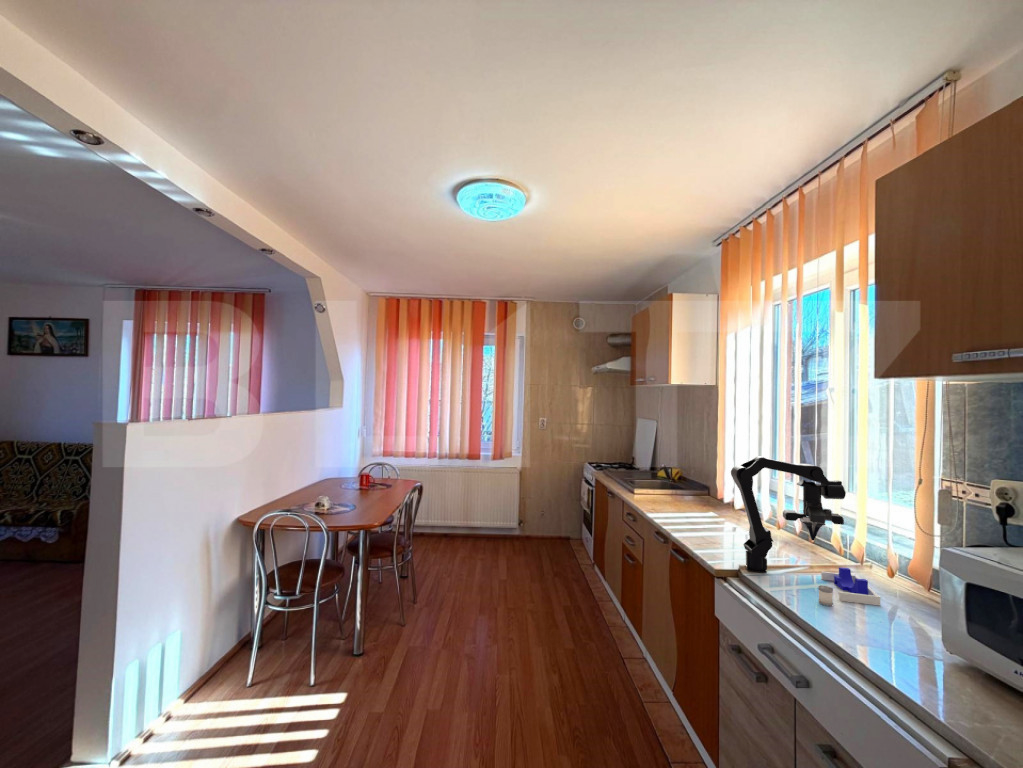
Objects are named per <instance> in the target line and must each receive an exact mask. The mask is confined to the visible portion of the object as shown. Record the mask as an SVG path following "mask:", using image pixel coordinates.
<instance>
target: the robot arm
mask: <svg viewBox="0 0 1023 768" xmlns="http://www.w3.org/2000/svg"><path fill="white" fill-rule="evenodd" d="M763 469H768V470H769V469H770V470H773V471H774V470H775V471H779V472H783V473H788V474H794V475H796V476H798V477H801V478H802V479H800V481H798V482H797V483H796V485H797V486H798V487H799V486H800V487H802V495H803V496H802V497H803V498H802V502H803V504H802V505H803V506H802V507H803V510H802V513H801V512H799V513H798V512H797V511H795V510H790V509H784V510H783V511H782V517H783V518H784V520H785V521H791V522H794V521H795V522H796V521H797V520H798V519H799V521H800V522H801V523H802V524H803V525H804V526H805V527H806V531H807V532H808V534H809V538H810V540H811V541H815V540H816V537H817V534H818V533H819V530H820V528H821V527H823V526H826V521H827V522H831V523H833V524H834V525H843V526H844V525H845V519H844V518H843V516H842V515H841V514H838V513H832V510H831V509H829V508H823V503H822V497H823V498H824V499H825V500H844V499H845V498H846V494H847V492H846V490H845V487H844V485H843V481H842V480H828V478H827V476H825V474H824V471H823V469H822V467H820V466H818V465H814V464H810V463H792V462H786V461H781V460H776V459H773V458H772V459H771V458H766V457H763V456H759V455H758V456H755V457H753V458H752V459H750V460H748V461H746V462H743V463H741V464H740V465H738V464H737V465H735V466H733V467H732V468H731V469H730V470H731V471H730V475H731V477H732V480H733V481H734V483H735V485H736V487H737V489H738V490H739V492H740V496H741V499H742V503H743V507H744V510H745V512H746V516H747V517H746V518H747V520H748V525H749V529H748V530H749V531H748V536H749V538H748V539H747V540H746V541H745V542H744V543H743V547H744V549H745V564H746V565H747V568H746V567H745V569H746V571H747V572H755V573H764V574H765V573H766V574H767V570H768V559H767V555H768V553H769V551H770V550H771V549H772V548H773V542H774V540H773V538H772V533H771V530H770V529H768V528H766V527H765V526H764V525H763V522H762V519H761V515H760V511H759V508H758V506H757V501H756V499H755V497H756V496H755V495H754V494H755V493H754V491H753V487H754V478H753V477H755V476H756V475H758V474H759V473H760V472H761V471H762V470H763ZM803 478H804V479H803ZM805 479H806V480H810V481H806V480H805Z"/></svg>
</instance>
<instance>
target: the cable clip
mask: <svg viewBox="0 0 1023 768" xmlns="http://www.w3.org/2000/svg"><path fill="white" fill-rule="evenodd" d="M838 573H839V576H834V581H833V583H834V585H835V586H837V587H838V588H839V589H840V590H842V592H848V593H856V594H865V595H868V586H869V581H868V579H866V578H860V579H855V583H854V582H853V580H852V576H851V575H852V570H851V568H849V567H841V566H840V567H838Z"/></svg>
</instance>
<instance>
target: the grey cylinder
mask: <svg viewBox="0 0 1023 768" xmlns="http://www.w3.org/2000/svg"><path fill="white" fill-rule="evenodd" d="M817 587H818V604H819V605H821V604H823V605H822V606H824V605H828V606H827V607H833V606H834V601H833V600H834V599H833V593H834V589H833V587H831V586H828V585H818V586H817ZM832 605H833V606H832Z"/></svg>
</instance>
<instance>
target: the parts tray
mask: <svg viewBox="0 0 1023 768" xmlns="http://www.w3.org/2000/svg"><path fill="white" fill-rule="evenodd" d="M834 576H839V572H831V571H830V572H829V571H828V572H827V571H822V570H821V571H820V578H821V580H824V581H831V582H832V581H833V582H834ZM851 576H852V580H853V582H854V584H855V579H861V577H860V576H859V575H857V574H851ZM838 601H841V602H849V603H856V604H857V603H858V604H865V605H866V604H867V605H872V606H881V596H880V595H879V594H878V593H877V592H875V591H874V590H873V589H872V588H871V587H870V586H869V585H868V595H865V594H856V593H850V592H849V591H838Z"/></svg>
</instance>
